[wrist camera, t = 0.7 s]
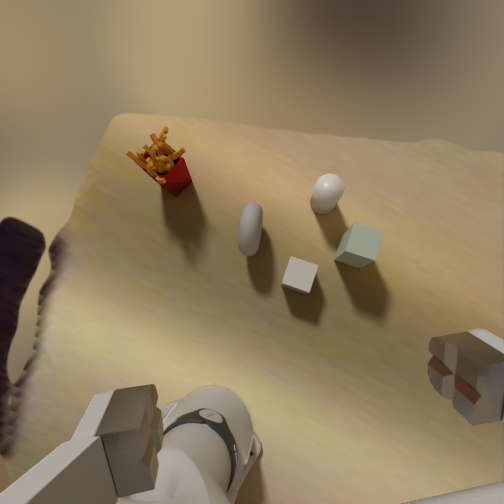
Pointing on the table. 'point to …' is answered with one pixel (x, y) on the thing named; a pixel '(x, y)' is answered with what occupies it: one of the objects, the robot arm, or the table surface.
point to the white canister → (326, 193)
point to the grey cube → (299, 275)
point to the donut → (250, 229)
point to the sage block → (359, 246)
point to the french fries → (164, 164)
